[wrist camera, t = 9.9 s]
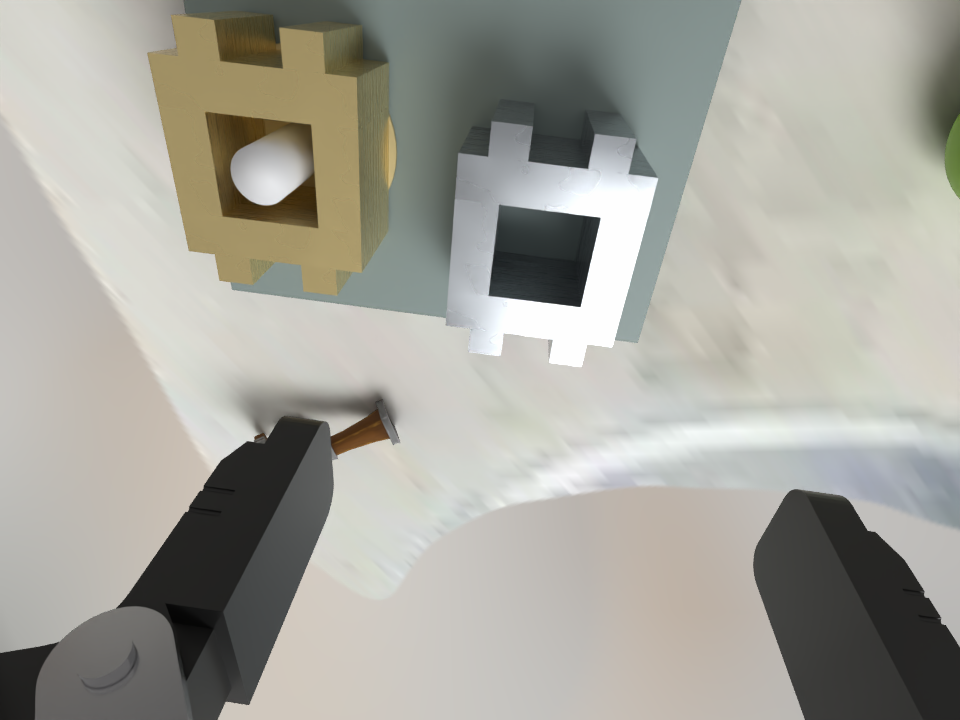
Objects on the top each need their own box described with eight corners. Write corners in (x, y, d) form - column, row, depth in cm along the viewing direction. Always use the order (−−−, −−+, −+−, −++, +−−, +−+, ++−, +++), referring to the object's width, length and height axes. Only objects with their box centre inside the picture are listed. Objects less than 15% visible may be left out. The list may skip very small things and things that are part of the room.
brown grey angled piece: (232, 434, 31) (226, 487, 27) (374, 375, 32) (388, 418, 28) (249, 458, 31) (245, 514, 28) (386, 400, 33) (401, 445, 29)
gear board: (844, -402, 14) (1015, -622, 9) (633, 325, 26) (655, 406, 21) (135, -473, 14) (-84, -724, 9) (246, 275, 26) (176, 342, 21)
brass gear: (388, 28, 18) (355, 36, 15) (388, 254, 23) (362, 299, 20) (210, 7, 19) (138, 11, 15) (244, 236, 23) (194, 277, 20)
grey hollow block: (646, 116, 19) (667, 142, 16) (596, 317, 24) (605, 370, 20) (474, 95, 19) (460, 117, 16) (457, 299, 24) (443, 348, 21)
